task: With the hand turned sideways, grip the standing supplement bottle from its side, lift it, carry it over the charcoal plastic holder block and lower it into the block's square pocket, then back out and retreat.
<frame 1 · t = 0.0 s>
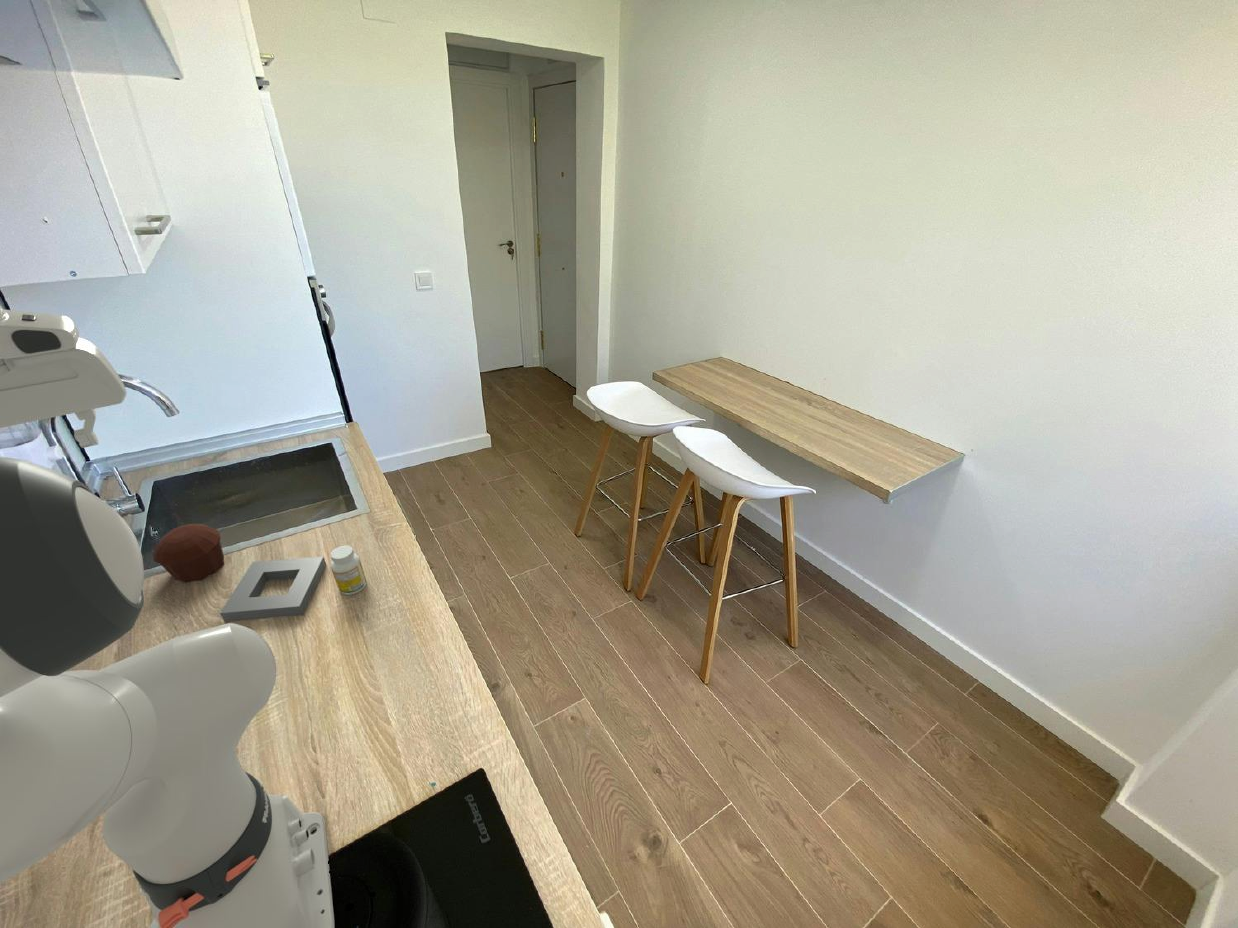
hand: (34, 457, 57), 48 cm above the counter, fingers open, 8 cm apart
muffin: (200, 568, 109), on the counter
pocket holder: (279, 591, 104), on the counter
supplement bottle: (353, 586, 106), on the counter
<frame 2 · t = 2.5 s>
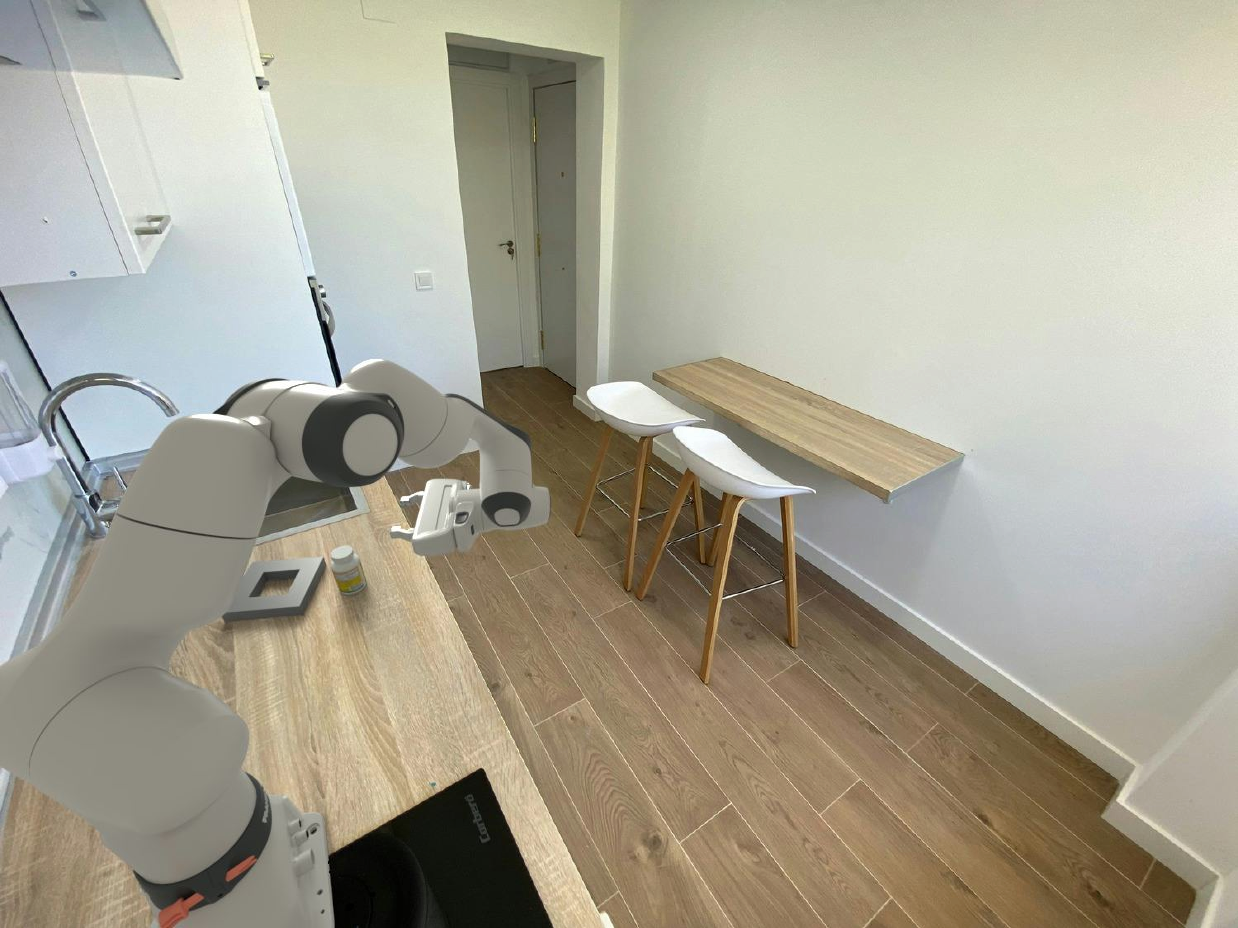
hand: (395, 516, 98), 17 cm above the counter, fingers open, 8 cm apart
nothing on the counter moved.
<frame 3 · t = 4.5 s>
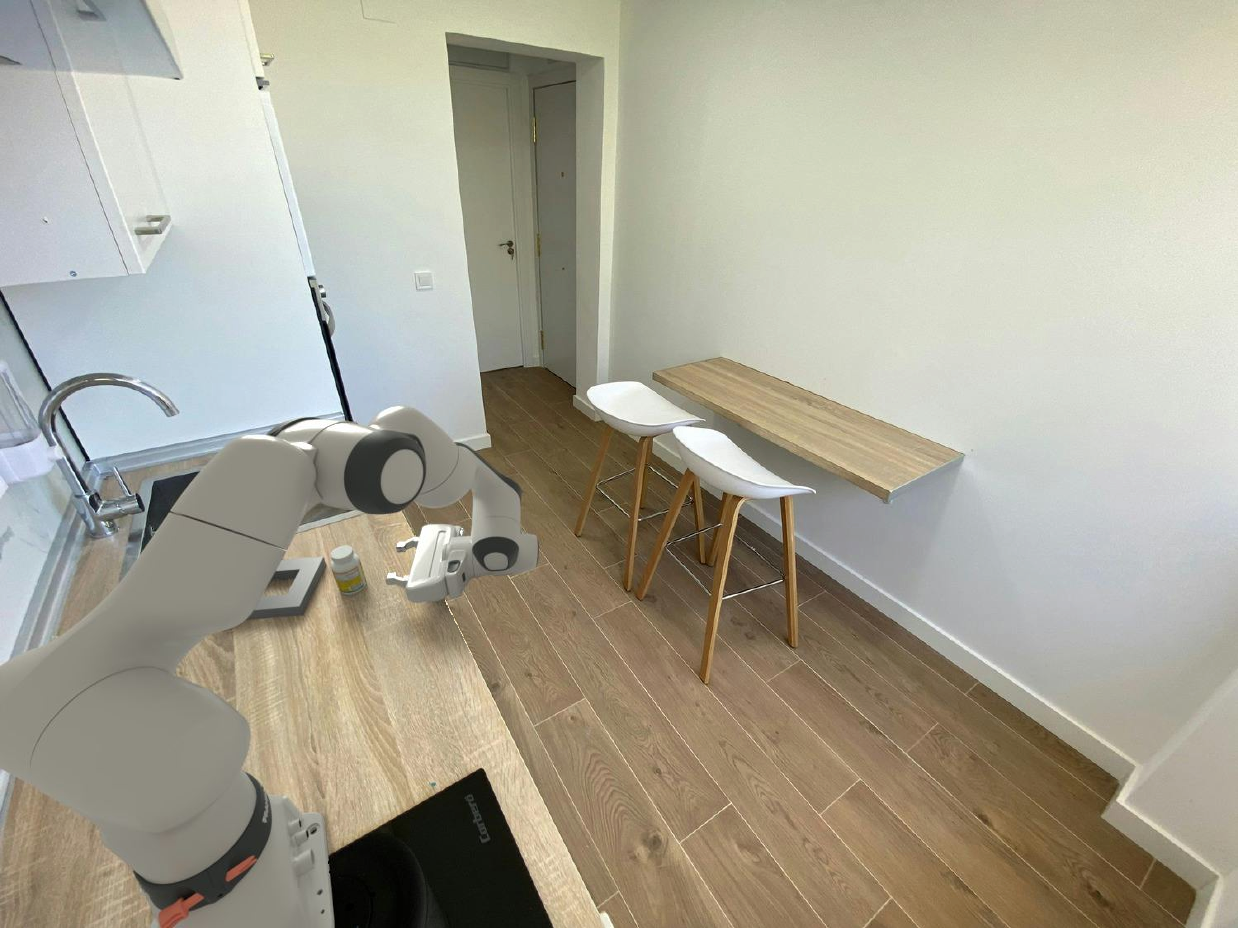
hand: (391, 562, 104), 6 cm above the counter, fingers open, 8 cm apart
nothing on the counter moved.
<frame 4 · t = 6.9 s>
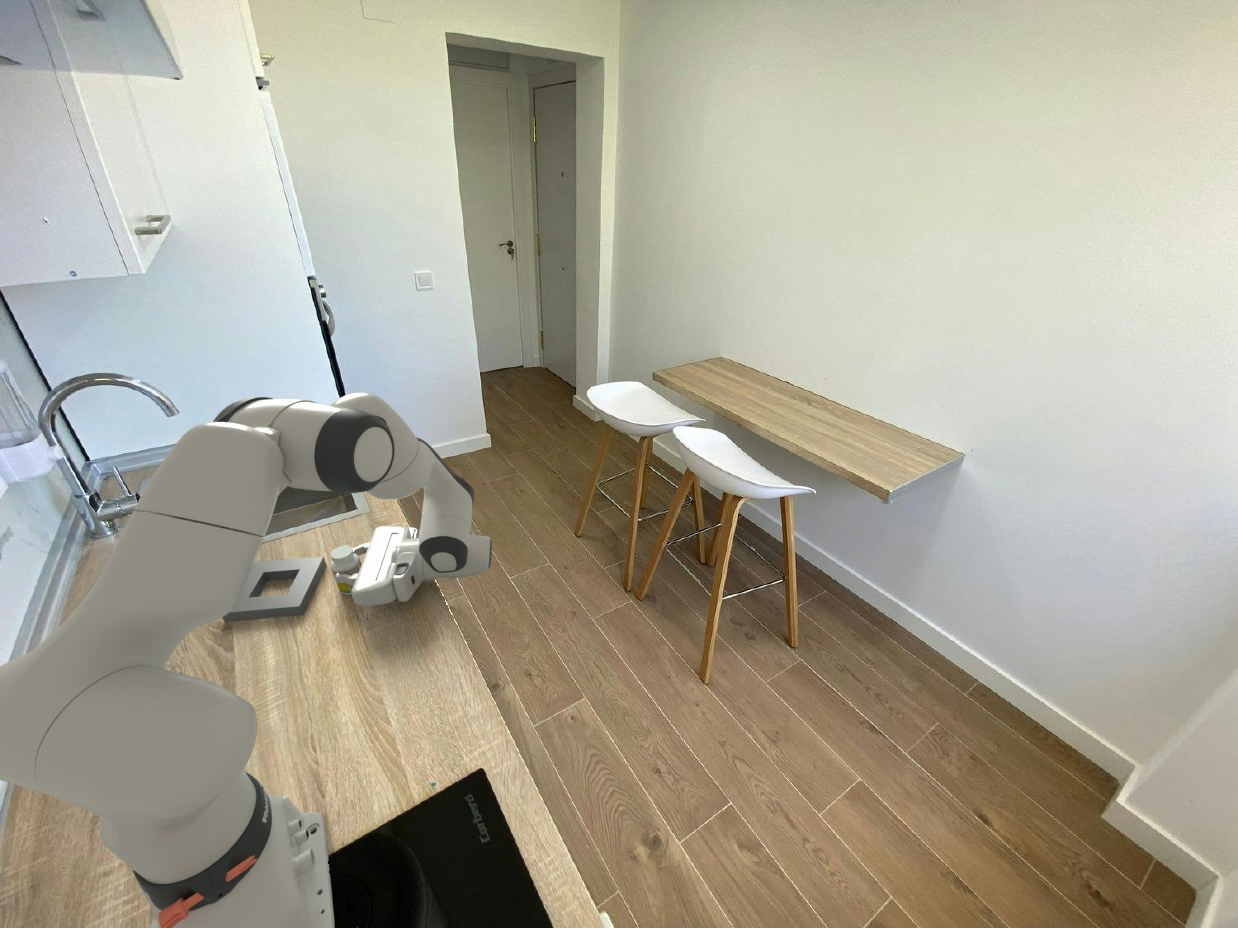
hand: (341, 565, 102), 6 cm above the counter, fingers closed on supplement bottle, 5 cm apart
supplement bottle: (353, 586, 106), on the counter, touching gripper
everything else where it was.
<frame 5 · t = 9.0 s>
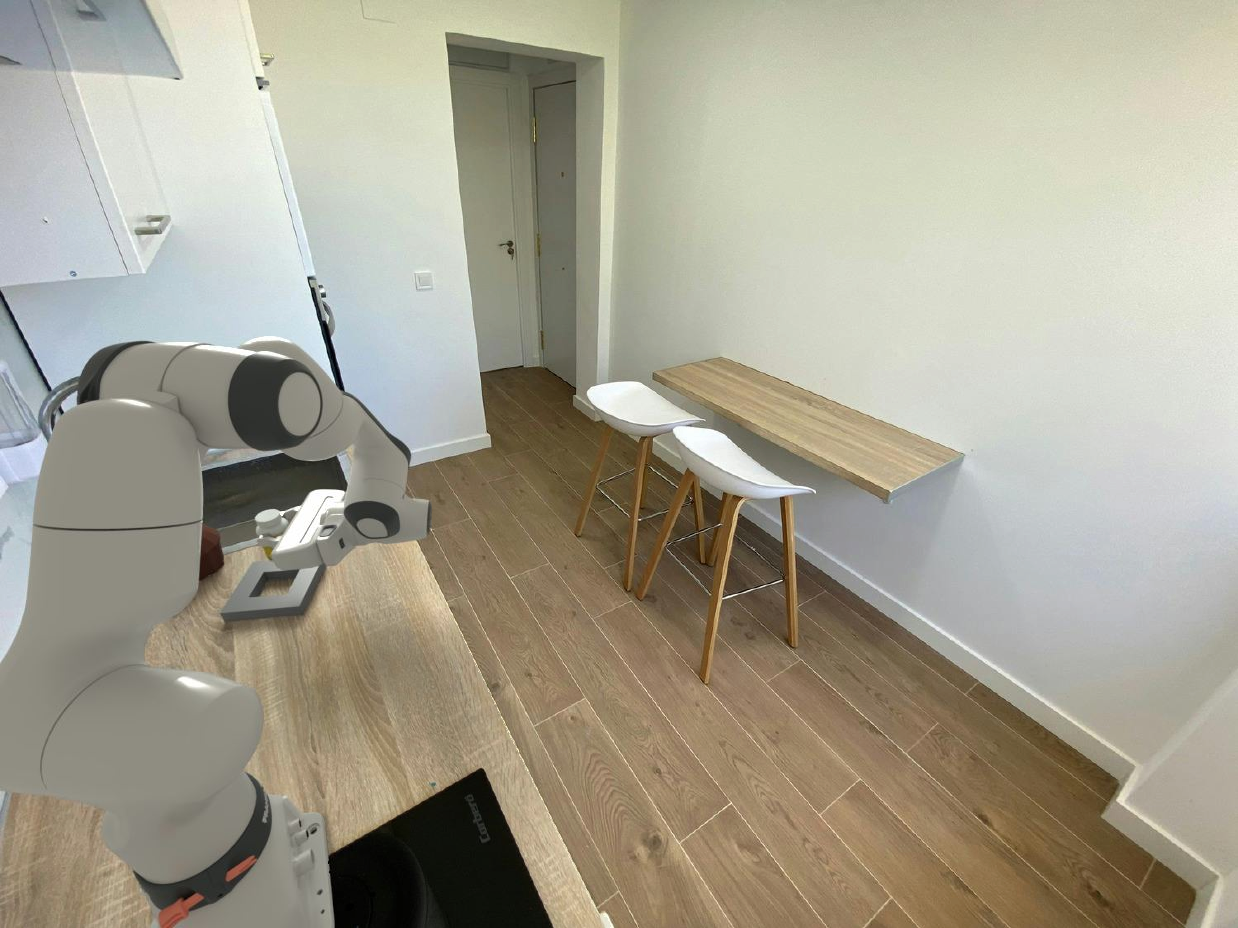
hand: (267, 528, 95), 17 cm above the counter, fingers closed on supplement bottle, 5 cm apart
supplement bottle: (284, 554, 99), point 10 cm above the counter, touching gripper
everything else where it was.
when the fingers open (7 cm above the counter, at t = 11.6 s): supplement bottle stays where it is, resting in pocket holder.
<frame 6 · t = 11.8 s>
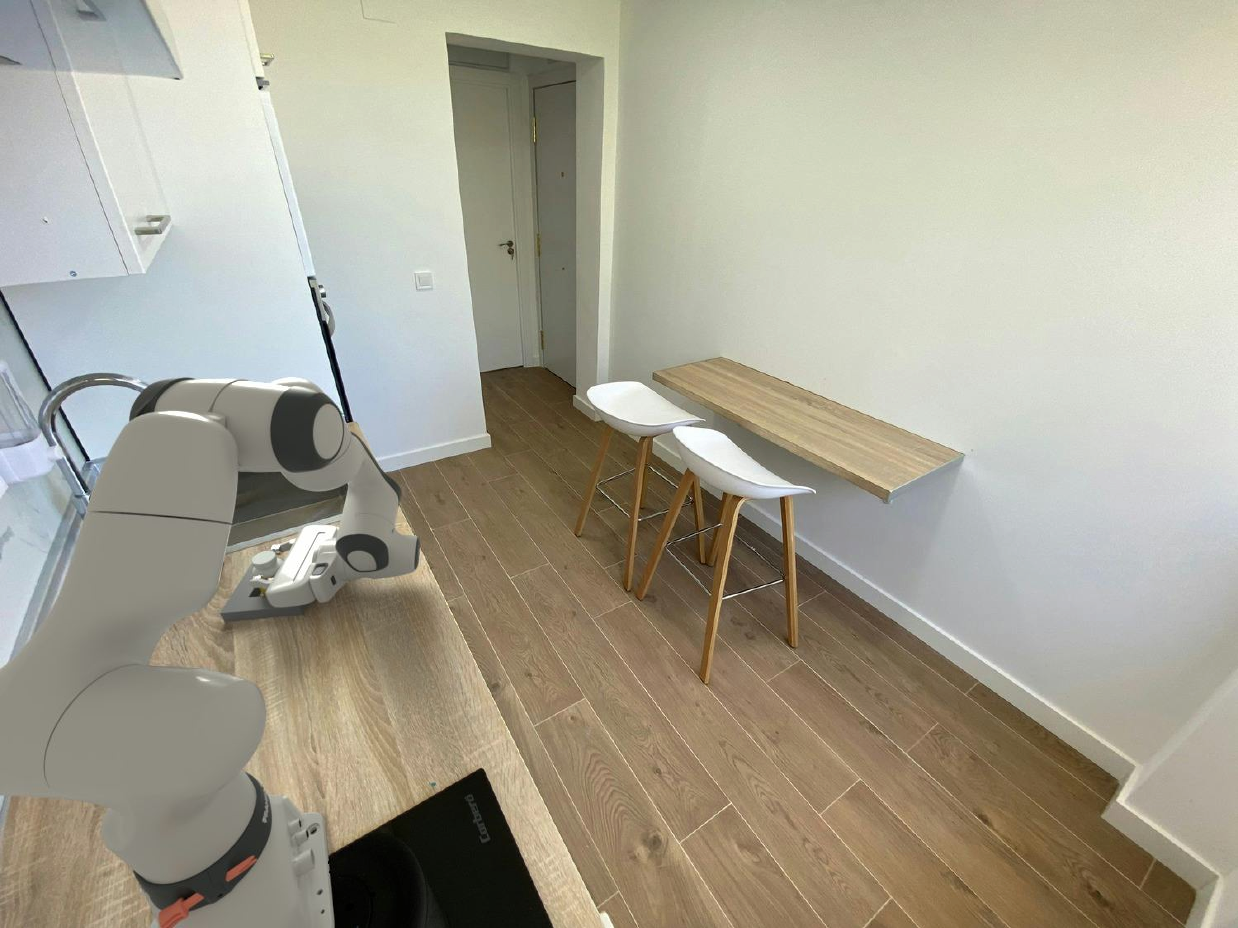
hand: (261, 565, 100), 7 cm above the counter, fingers open, 8 cm apart
supplement bottle: (279, 592, 104), resting in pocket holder
everything else where it was.
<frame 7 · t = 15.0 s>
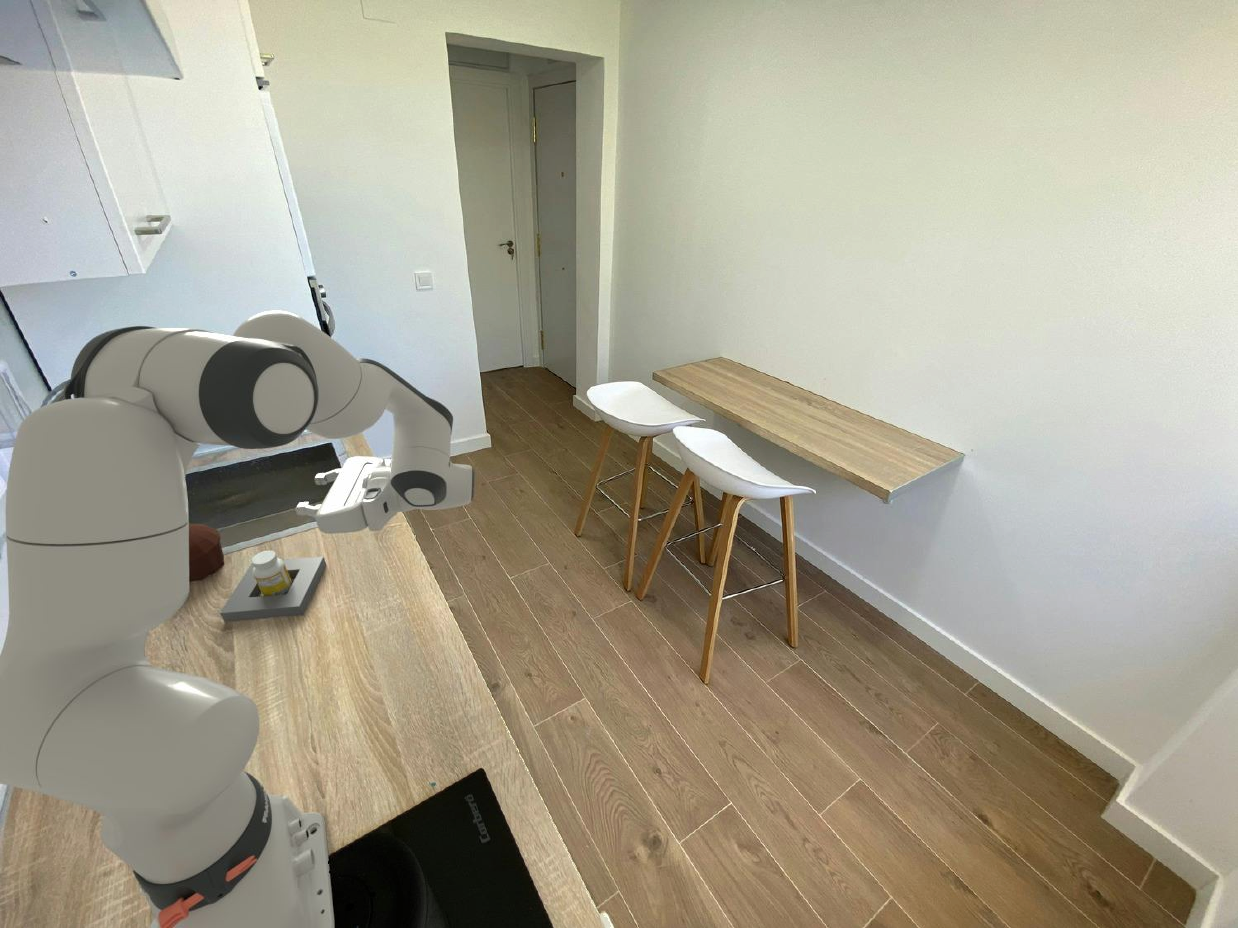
hand: (307, 493, 92), 24 cm above the counter, fingers open, 8 cm apart
nothing on the counter moved.
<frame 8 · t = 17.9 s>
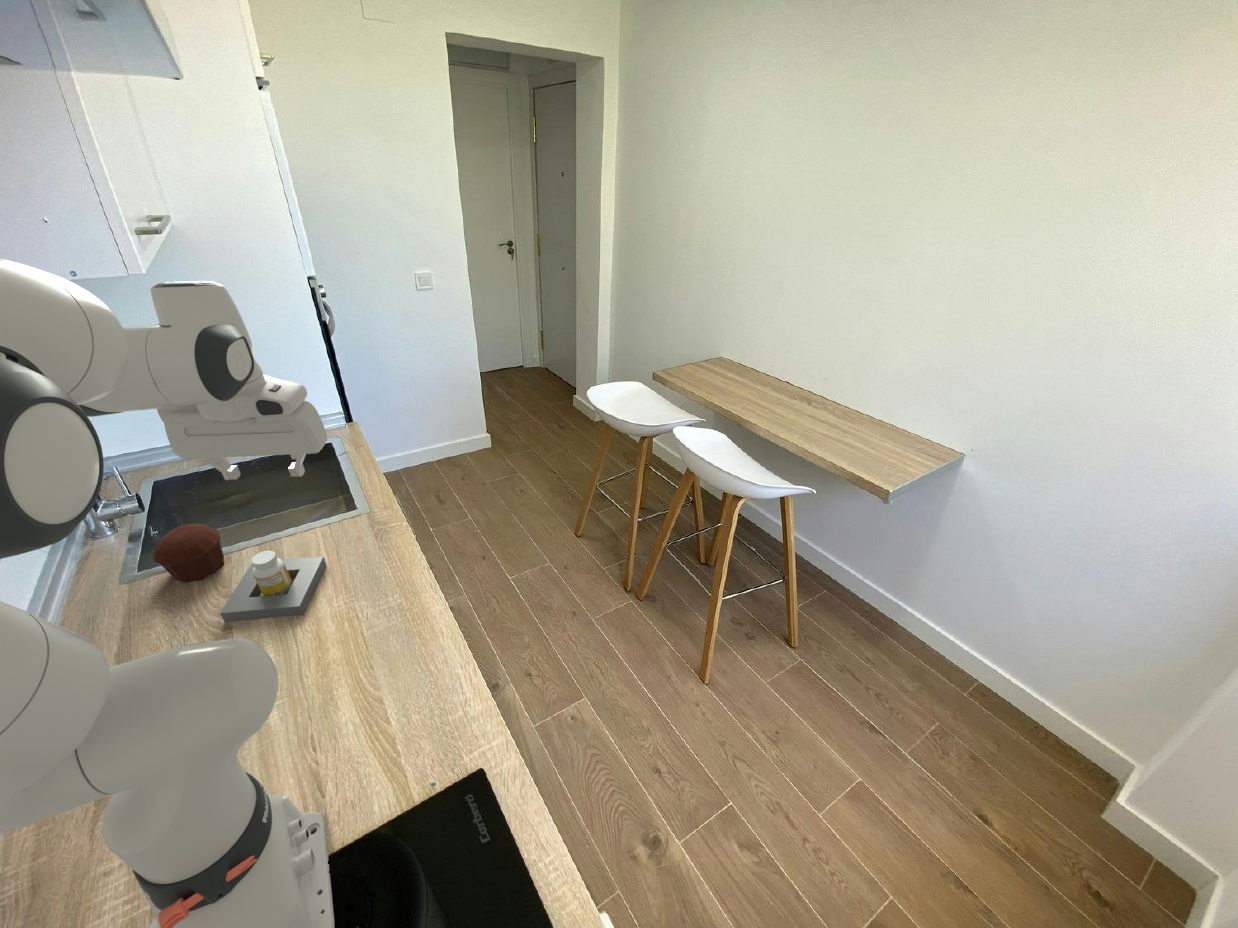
hand: (266, 476, 80), 34 cm above the counter, fingers open, 8 cm apart
nothing on the counter moved.
at the end: supplement bottle 0.1 cm off-centre on the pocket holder, point 0.0 cm above the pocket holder's base; supplement bottle tilted 0°; the gripper is holding nothing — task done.
